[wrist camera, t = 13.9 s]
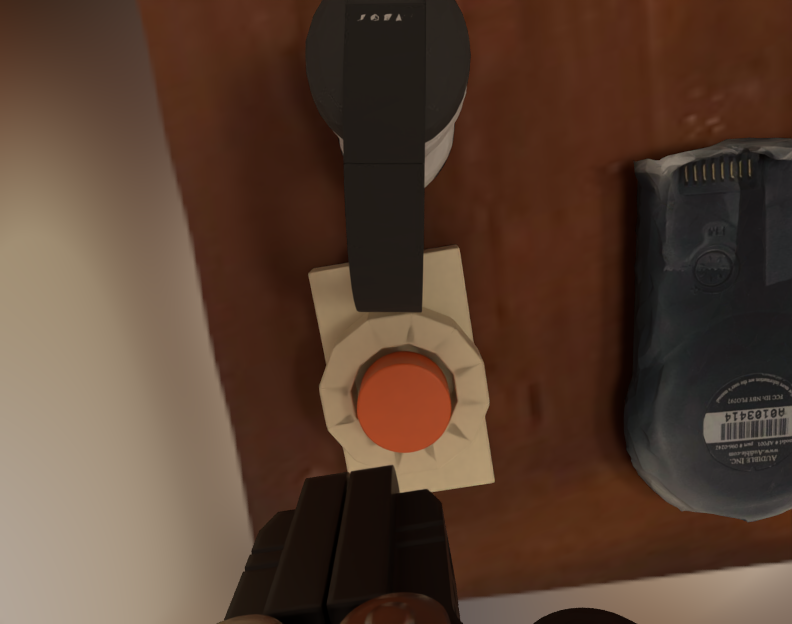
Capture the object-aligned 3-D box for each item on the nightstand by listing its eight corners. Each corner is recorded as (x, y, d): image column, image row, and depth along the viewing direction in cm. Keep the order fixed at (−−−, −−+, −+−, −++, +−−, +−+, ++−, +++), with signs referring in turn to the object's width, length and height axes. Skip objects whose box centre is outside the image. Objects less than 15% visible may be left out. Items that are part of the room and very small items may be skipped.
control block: (308, 268, 27) (296, 281, 24) (460, 243, 27) (467, 252, 24) (352, 491, 29) (346, 527, 26) (495, 470, 29) (505, 504, 26)
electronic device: (585, 167, 27) (619, 519, 28) (649, 140, 22) (689, 578, 23) (795, 146, 28) (820, 487, 29) (907, 115, 23) (934, 537, 24)
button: (352, 358, 25) (348, 372, 23) (441, 343, 25) (443, 356, 23) (368, 441, 26) (365, 460, 24) (454, 427, 26) (458, 446, 24)
